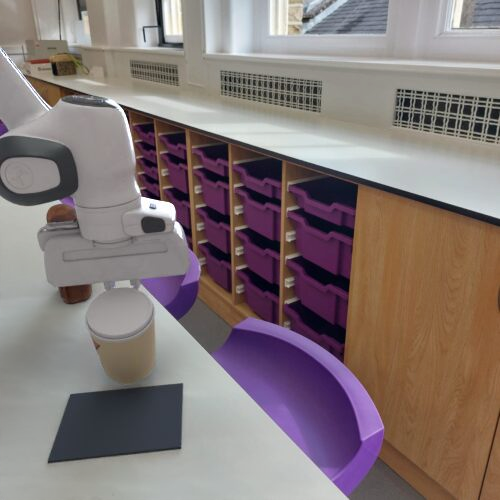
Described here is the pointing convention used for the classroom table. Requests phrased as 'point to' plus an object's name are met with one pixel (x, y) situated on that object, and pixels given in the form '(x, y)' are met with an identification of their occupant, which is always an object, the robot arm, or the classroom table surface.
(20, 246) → the classroom table surface
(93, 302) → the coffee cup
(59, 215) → the wooden figurine
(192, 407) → the classroom table surface
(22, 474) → the classroom table surface
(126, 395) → the rubber mat
